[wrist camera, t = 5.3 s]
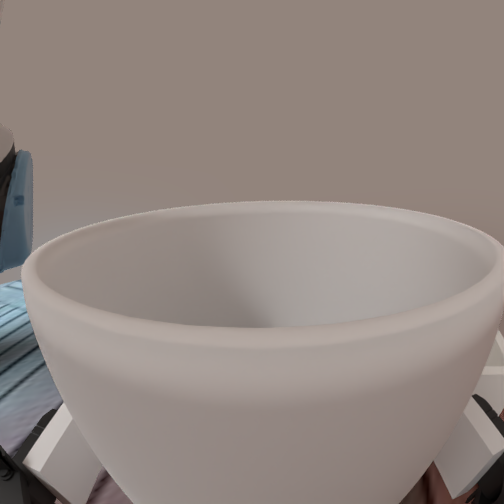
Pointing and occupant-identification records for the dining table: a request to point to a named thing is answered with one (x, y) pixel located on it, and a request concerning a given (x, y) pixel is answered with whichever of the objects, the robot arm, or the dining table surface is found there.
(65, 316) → the cup
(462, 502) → the dining table surface
